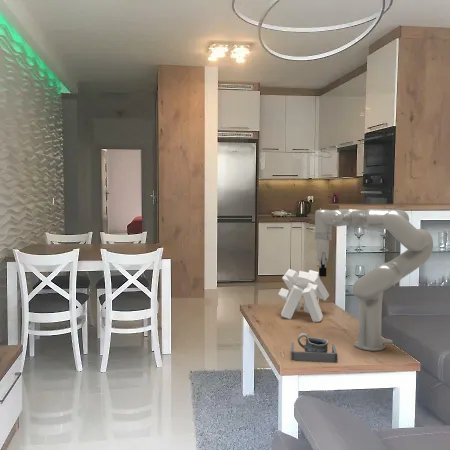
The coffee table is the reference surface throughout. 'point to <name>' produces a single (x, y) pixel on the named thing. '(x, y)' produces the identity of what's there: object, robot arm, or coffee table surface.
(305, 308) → the white crossed bars sculpture
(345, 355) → the coffee table surface
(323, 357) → the frame
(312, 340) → the mug
